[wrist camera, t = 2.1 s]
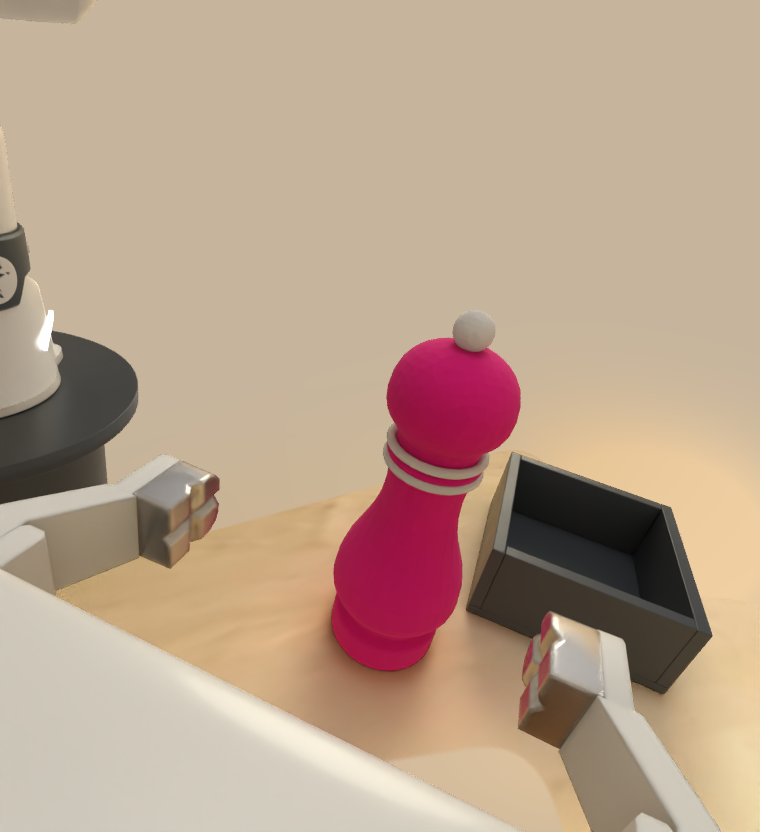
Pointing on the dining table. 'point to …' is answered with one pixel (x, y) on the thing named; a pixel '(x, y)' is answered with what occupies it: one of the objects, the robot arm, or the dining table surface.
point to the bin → (590, 567)
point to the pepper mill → (423, 495)
